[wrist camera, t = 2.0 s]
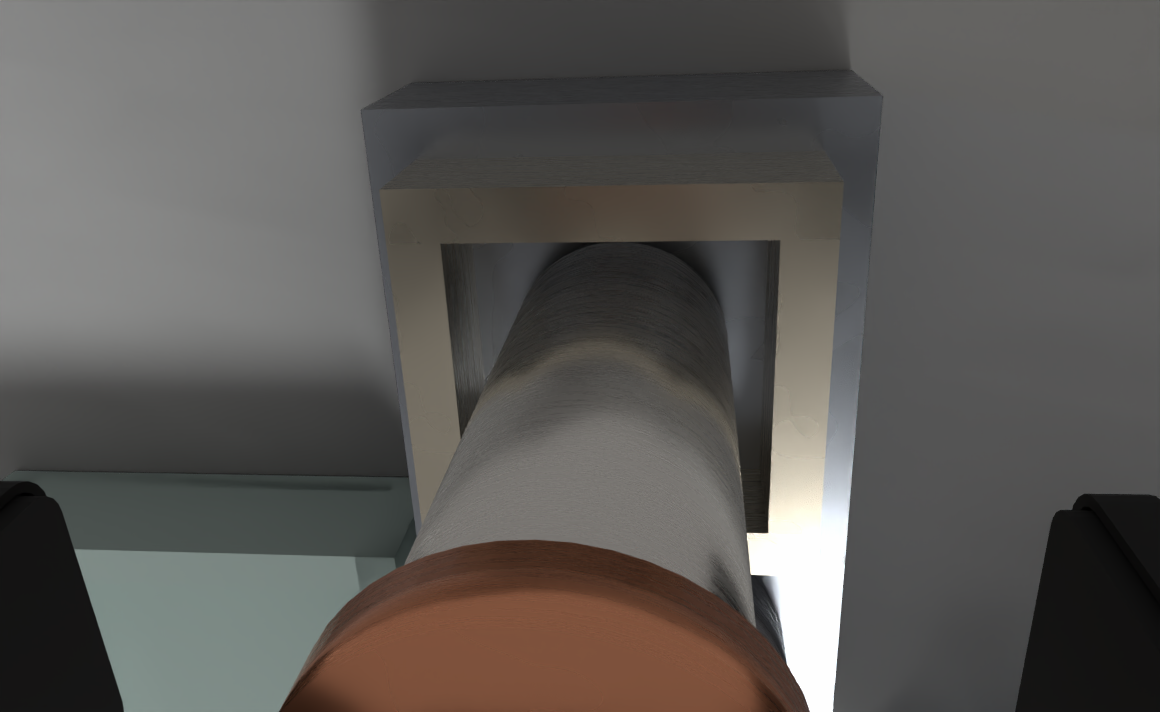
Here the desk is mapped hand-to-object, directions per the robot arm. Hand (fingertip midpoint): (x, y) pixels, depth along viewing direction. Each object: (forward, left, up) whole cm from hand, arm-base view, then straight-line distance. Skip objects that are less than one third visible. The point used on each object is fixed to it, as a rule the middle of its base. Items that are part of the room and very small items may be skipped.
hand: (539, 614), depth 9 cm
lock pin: (0, 0, -8) cm, 8 cm away
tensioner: (-3, 0, -11) cm, 11 cm away
